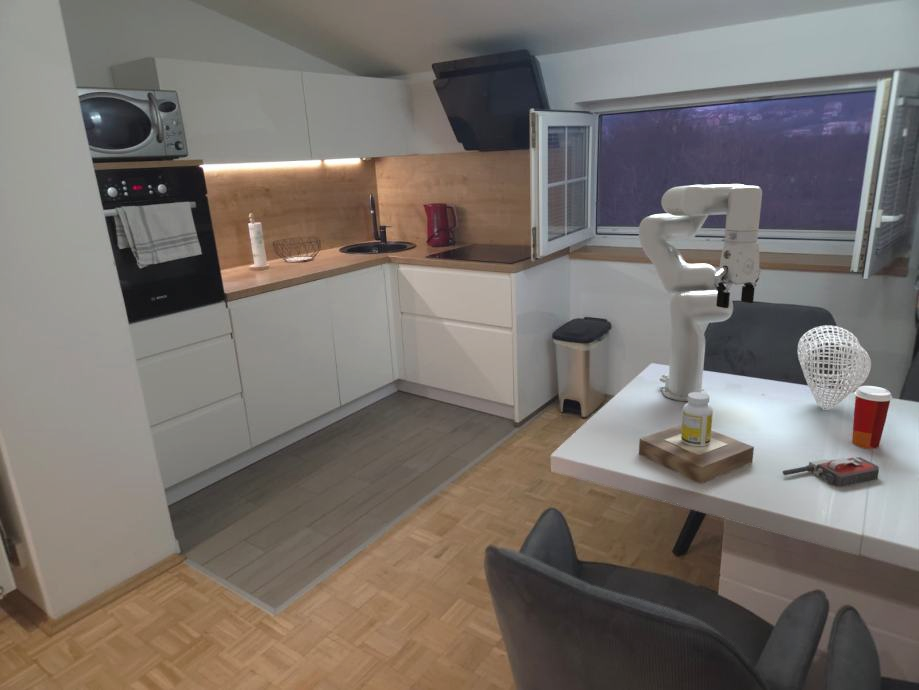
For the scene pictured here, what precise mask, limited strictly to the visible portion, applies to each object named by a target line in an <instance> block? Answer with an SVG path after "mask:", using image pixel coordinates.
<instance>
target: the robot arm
mask: <svg viewBox="0 0 919 690" xmlns="http://www.w3.org/2000/svg"><path fill="white" fill-rule="evenodd" d="M762 198H763V190H762V188H761V187H760V186H758V185H746V184H741V183H730V184H728V183H726V184H725V183H724V184H723V183H720V184H693V185H682V186H681V185H680V186H673V187H672V188H669V189H668V190H666V192H664V194H663V195H662V197H661V201H660V203H661V207H662V209H663V210H664V211H665V213H656V214H651V215H649V216H646V217H644V218H643V219H642V220H641V221H640V224H639V227H638V238H639V242H640V245H641V247H642V251H643V252H644V253H645V255H646V256H647V258H648V259H649V260H650V262H651V263H652V264H653V266H654V268H655V271H656V273H657V275H658V277H659V279H660V281H661V283H662V285H663V288H664V289H665V291H666V292H667V294H669V295H671V296H672V298H671V300H670V302H669V313H670V324H671V336H670V337H671V338H670V353H669V365H668V366H669V367H668V374H666V373H663V374H662V375H661V377H660V378H659V381H660V382H661V383H664V384H665V386H664V387H663V388H662V395H663V396H665V398H668V399H672V400H674V401H680V402H689V401H688V394H689V393H692V392H701V393H705V394H707V395H708V393H707V390H705V388H702V387H703V386H702V385H703V379H704V378H703V376H704V363H705V354H706V353H705V351H706V337H705V334H704V332H703V330H701V328H700V326H699V325H700V324H708V323H719V322H720V323H721V322H725V321H727V320H729V319H730V318H731V316H732V314H733V312H734V304H733V299H732V297H731V292H729V291H730V289H731V287H732V285H736V286H737V285H738V286H739V285H743V286H741V297H740V301H741V302H742V303H748V304H753V303H754V297H755V289H756V287H757V283H758V281H759V280H760V278H759V277H760V275H761V273H762V268H760V247H759V246H760V245H759V242H758V238H759V228H760V227H759V226H760V219H761V218H760V217H761V209H762ZM715 215H716V216H717V215H720V216H721V215H726V218H725V231H724V243H723V247H722V251H721V255H720V261H719V266H718V267H719V270H717V269H716V268H715V267H714V266H713V265H712V264H709V263H704V262H703V263H702V262H700V263H699V262H698V263H695V262H694V263H689V262H687V261H685V259H684V257H683V255H682V254H681V251H679V250H678V249H677V248H676V247H675V246H673V245H672V244H670V243H668V242H674V241H675V242H676V241H689V240H692V239H694V238H695V237H696V236H697V234H699V231H700V229H701V228H702V227H703V224H705V222H706V220H707V218H708V216H715Z"/></svg>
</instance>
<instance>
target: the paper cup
mask: <svg viewBox="0 0 919 690" xmlns="http://www.w3.org/2000/svg"><path fill="white" fill-rule="evenodd" d="M853 392H854V393H853V395H854V396H855V398H854V400H855V401H854V411H853V421H852V422H853V426H852V435H851V436H852V437H851V438H852V439H851V440H852V441H851V442H852V444H853V445H854V446H855V447H858V448H862V449H869V450H875V449H878V448H879V447H880V444H881V440H882V437H883V433H884V428H885V424H886V420H887V415H888V412H889V407H890V404H891V401H892V400H893V396H892V393H891V392H890V391H889V390H888V389H887V388H883V387H880V386H874V385H860V386H859V387H858V388H857V389H856V390H854V391H853Z"/></svg>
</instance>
